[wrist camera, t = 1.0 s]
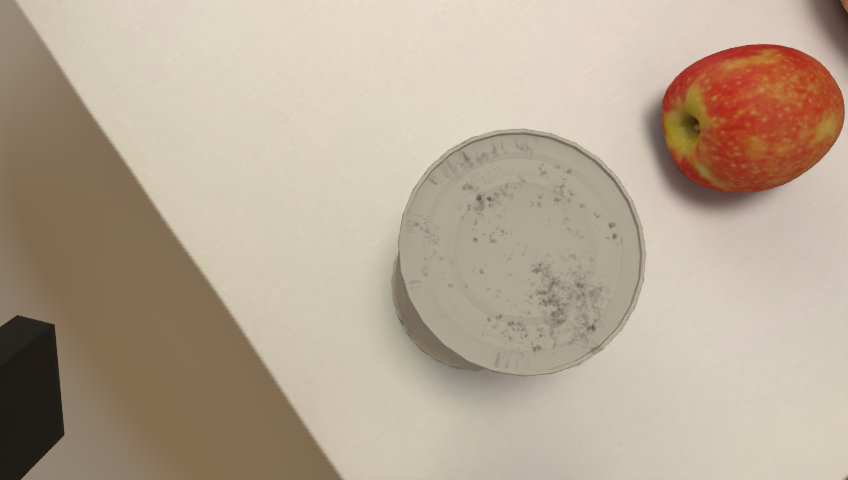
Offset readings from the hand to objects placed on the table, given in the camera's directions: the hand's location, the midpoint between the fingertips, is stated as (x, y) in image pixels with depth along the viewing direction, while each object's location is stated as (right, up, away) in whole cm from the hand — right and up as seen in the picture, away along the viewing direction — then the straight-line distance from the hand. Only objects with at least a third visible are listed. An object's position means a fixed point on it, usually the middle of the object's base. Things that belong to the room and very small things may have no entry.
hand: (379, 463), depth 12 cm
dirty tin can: (+4, +2, +25) cm, 25 cm away
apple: (+18, +10, +27) cm, 35 cm away
